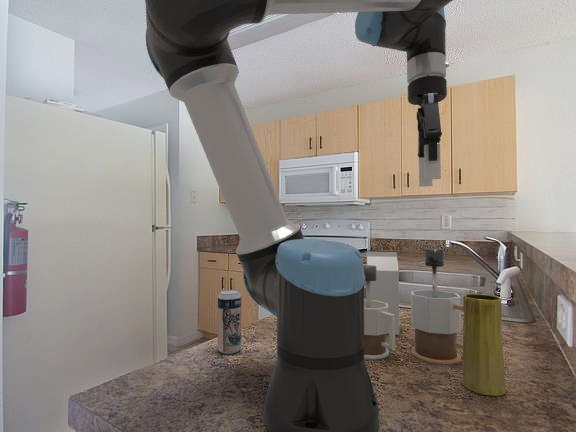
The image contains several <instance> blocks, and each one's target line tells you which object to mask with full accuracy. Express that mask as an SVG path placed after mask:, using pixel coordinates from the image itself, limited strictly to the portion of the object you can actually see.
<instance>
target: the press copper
mask: <svg viewBox="0 0 576 432" xmlns="http://www.w3.org/2000/svg"><path fill="white" fill-rule="evenodd" d="M461 301H462V297H461V295H459V294H458V293H457V292H452V291H446V290H438V289H437V298H432V289H418V290H411V291H410V309H411V310H410V318H411V319H410V321H411V322H410V323H411V325H412V328H413V329H414V346H412V347H411V355H412V356H413V357H415V358H416V359H417V360H420V361H422V362H426V363H429V364H434V365H441V366H442V365H443V366H446V365H456V364H458V363H460V362H461V359H462V356H461V354H460V353H459V352H458V349H460V350H463V342H458V333H459V332H462V311H463V312H464V304H462V302H461Z"/></svg>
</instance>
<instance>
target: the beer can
mask: <svg viewBox="0 0 576 432" xmlns="http://www.w3.org/2000/svg"><path fill="white" fill-rule="evenodd" d="M240 350H242V294H241V293H240V290H235V289H230V290H229V289H227V290H222V291H219V294H218V296H217V351H218V352H219V353H221V354H225V355H233V354H236V353H238V352H239V351H240Z"/></svg>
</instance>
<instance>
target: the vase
mask: <svg viewBox="0 0 576 432" xmlns="http://www.w3.org/2000/svg"><path fill="white" fill-rule="evenodd" d="M463 306H464V311H463V324H462V325H463V328H462V329H463V331H462V332H463V334H462V335H463V337H462V339H463V341H462V343H463V349H462V371H463V372H462V379H461V384H462V386H463V387H465V388H466V389H467V390H469V391H471V392H473V393H476V394H478V395H482V396H483V395H484V396H488V397H499V396H503V395H505V394H506V392H507V386H506V378H505V377H506V376H505V364H504V347H503V324H502V322H503V321H502V320H503V319H502V316H503V314H502V297H501V296H497V295H494V294H493V295H492V294H487V293H486V294H485V293H477V292H476V293H471V292H470V293H465V294H464V295H463Z"/></svg>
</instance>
